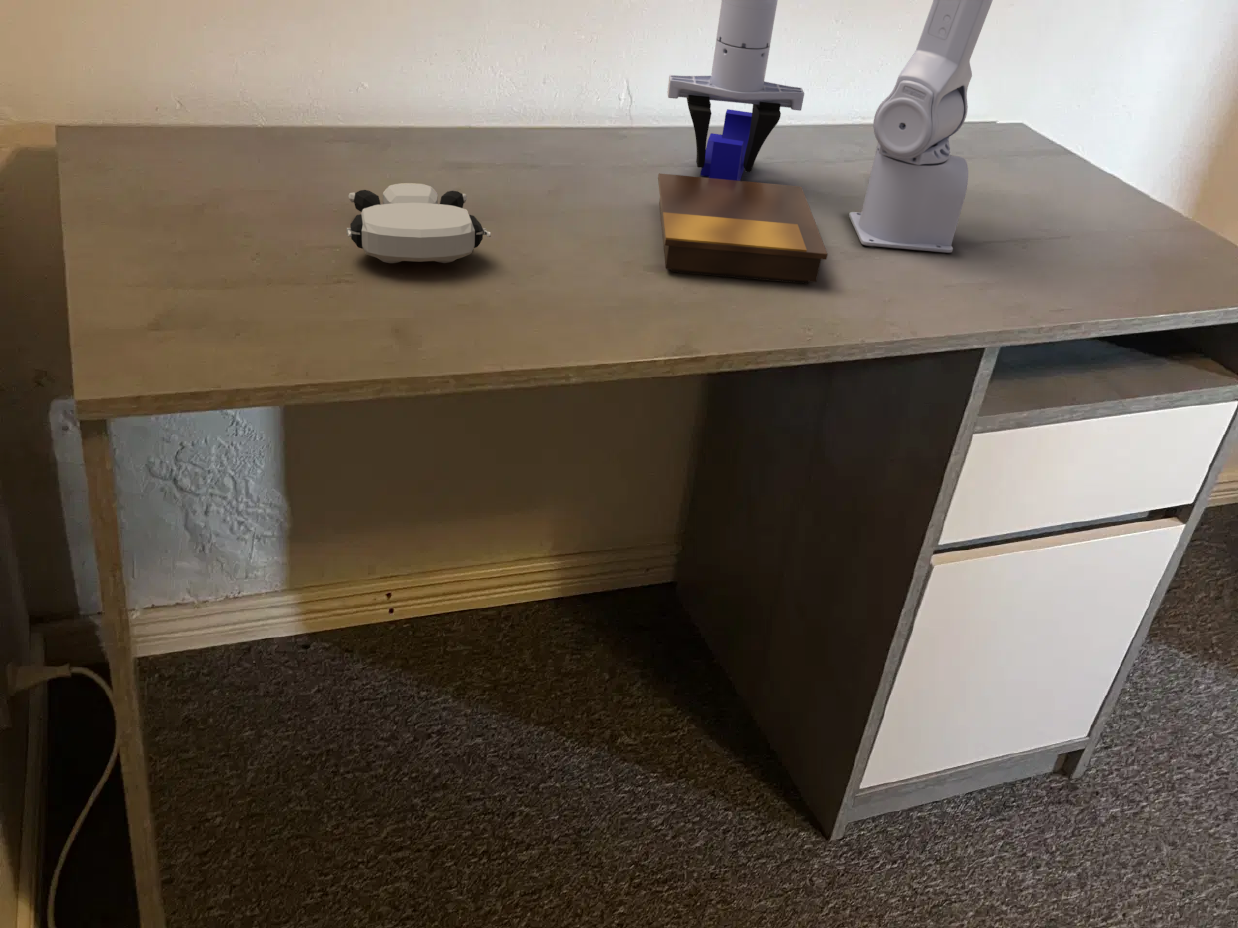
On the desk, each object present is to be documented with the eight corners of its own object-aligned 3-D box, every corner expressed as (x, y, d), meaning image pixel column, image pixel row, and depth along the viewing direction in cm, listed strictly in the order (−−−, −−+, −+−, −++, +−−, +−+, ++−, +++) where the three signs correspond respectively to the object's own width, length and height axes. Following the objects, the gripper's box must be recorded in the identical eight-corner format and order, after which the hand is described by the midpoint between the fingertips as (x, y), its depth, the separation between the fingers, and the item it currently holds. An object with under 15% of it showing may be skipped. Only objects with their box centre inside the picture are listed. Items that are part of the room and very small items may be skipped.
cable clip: (707, 158, 134) (714, 107, 130) (745, 164, 133) (753, 113, 130) (692, 193, 124) (699, 139, 121) (733, 200, 123) (741, 145, 120)
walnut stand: (795, 219, 121) (802, 184, 119) (820, 289, 107) (828, 252, 105) (654, 206, 120) (658, 171, 118) (660, 275, 106) (665, 237, 104)
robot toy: (343, 221, 111) (349, 279, 98) (342, 175, 108) (347, 228, 96) (470, 222, 114) (491, 277, 101) (471, 177, 111) (492, 228, 99)
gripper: (805, 38, 124) (783, 160, 132) (673, 25, 123) (658, 148, 131) (815, 56, 118) (791, 182, 126) (676, 42, 117) (660, 170, 125)
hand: (724, 166), depth 128 cm, fingers closed on cable clip, 5 cm apart
